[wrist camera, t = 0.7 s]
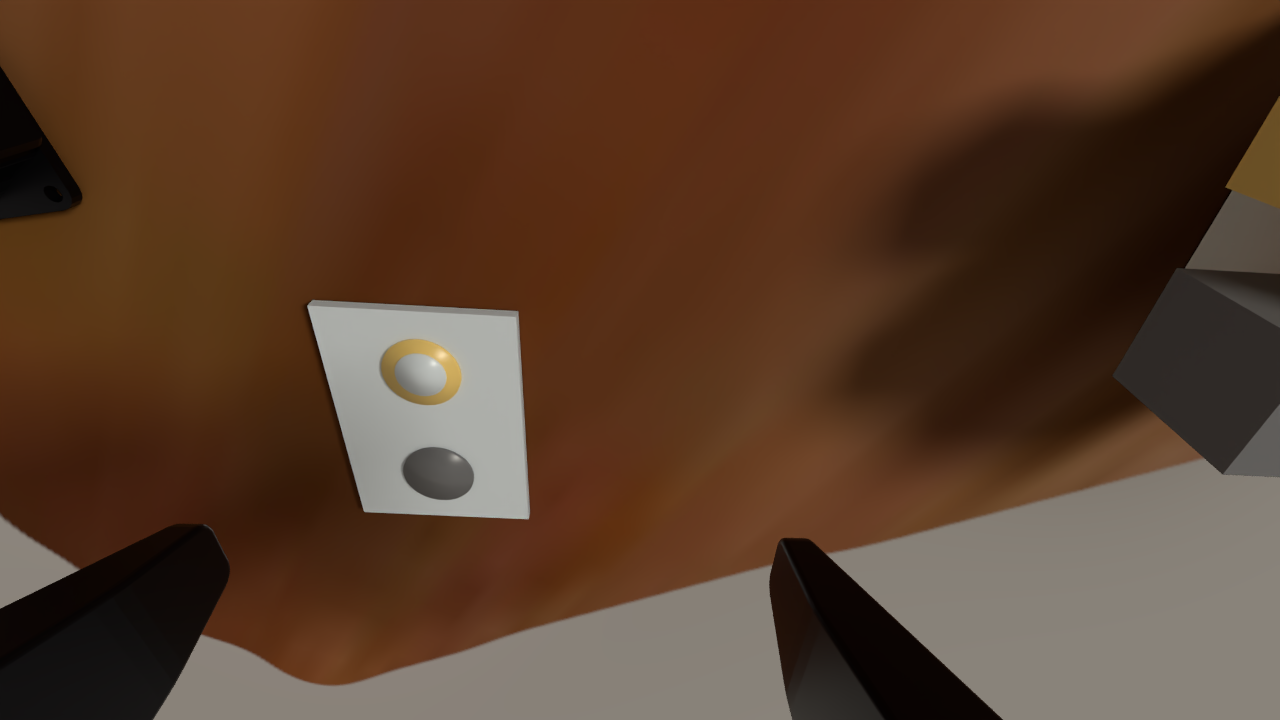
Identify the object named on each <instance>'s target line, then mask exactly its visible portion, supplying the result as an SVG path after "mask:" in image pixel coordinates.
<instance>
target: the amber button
mask: <svg viewBox="0 0 1280 720" xmlns="http://www.w3.org/2000/svg"><path fill="white" fill-rule="evenodd" d="M1226 188H1228V189H1231V190H1233V191H1236V192H1238V193H1241V194H1243V195H1246V196H1248V197H1251V198H1254V199H1256V200H1259V201H1261V202H1264V203H1266V204H1269V205H1271V206H1274V207H1276V208H1279V209H1280V96H1279V98H1278V100H1277V101H1276V103H1275V105H1274V106H1273V108H1272V110H1271V111H1270V113H1269V115H1268V116H1267V118H1266V120H1265V121H1264V123H1263V125H1262V126H1261V128H1260V130H1259V131H1258V133H1257V135H1256V136H1255V138H1254V140H1253V141H1252V143H1251V145H1250V146H1249V148H1248V150H1247V151H1246V153H1245V155H1244V156H1243V158H1242V160H1241V161H1240V163H1239V165H1238V166H1237V168H1236V170H1235V171H1234V173H1233V175H1232V177H1231V178H1230V180H1229V182H1228V183H1227V185H1226Z"/></svg>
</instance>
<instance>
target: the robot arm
mask: <svg viewBox="0 0 1280 720" xmlns="http://www.w3.org/2000/svg"><path fill="white" fill-rule="evenodd" d="M55 188H57V189H58V190H59V191H60V192H61V194H62V196H61V195H59V193H58V192H57V191H56V190H55ZM81 200H82V193H81V191H80V189H79V187H78V185H77V184H76V182H75V181H74V179H73V178H72V176H71V175H70V173H69V171H68V170H67V168H66V167H65V165H64V164H63V162H62V161H61V159H60V158H59V156H58V155H57V153H56V151H55V150H54V148H53V147H52V145H51V144H50V142H49V141H48V139H47V138H46V136H45V135H44V133H43V131H42V130H41V128H40V127H39V125H38V124H37V122H36V121H35V119H34V118H33V116H32V115H31V113H30V111H29V110H28V108H27V107H26V105H25V104H24V102H23V101H22V99H21V98H20V96H19V95H18V93H17V91H16V90H15V88H14V87H13V85H12V84H11V82H10V81H9V79H8V78H7V76H6V75H5V73H4V71H3V70H2V68H1V67H0V219H4V218H11V217H18V216H26V215H33V214H40V213H47V212H55V211H62V210H66V209H68V208H71V207H73V206H75V205H78V204H79V203H80V202H81ZM229 573H230V566H229V561H228V559H227V557H226V555H225V553H224V551H223V549H222V547H221V545H220V544H219V542H218V540H217V538H216V536H215V534H214V532H213V530H212V529H211V528H210V527H209V526H207V525H203V524H175V525H172V526H169V527H167V528H165V529H163V530H161V531H159V532H157V533H155V534H153V535H151V536H149V537H147V538H144V539H142V540H140V541H138V542H136V543H134V544H132V545H130V546H128V547H126V548H124V549H122V550H120V551H118V552H116V553H114V554H112V555H110V556H108V557H105V558H103V559H101V560H99V561H97V562H95V563H93V564H91V565H89V566H87V567H85V568H83V569H81V570H79V571H77V572H75V573H73V574H71V575H69V576H66V577H64V578H62V579H60V580H58V581H56V582H54V583H52V584H50V585H48V586H46V587H44V588H42V589H40V590H38V591H36V592H34V593H32V594H30V595H27V596H25V597H23V598H22V599H19V600H17V601H15V602H13V603H11V604H9V605H7V606H5V607H3V608H1V609H0V720H153V719H154V717H155V716H156V714H157V712H158V711H159V709H160V708H161V706H162V705H163V703H164V701H165V700H166V698H167V696H168V695H169V693H170V692H171V690H172V688H173V687H174V685H175V683H176V681H177V679H178V678H179V676H180V674H181V672H182V670H183V669H184V667H185V665H186V663H187V661H188V659H189V657H190V655H191V653H192V651H193V649H194V647H195V645H196V643H197V641H198V639H199V637H200V635H201V633H202V632H203V630H204V628H205V626H206V624H207V622H208V620H209V618H210V616H211V614H212V612H213V610H214V608H215V606H216V604H217V602H218V600H219V598H220V596H221V594H222V592H223V590H224V588H225V587H226V584H227V582H228V578H229ZM769 583H770V584H769V586H770V587H769V588H770V597H771V604H772V610H773V617H774V623H775V629H776V636H777V642H778V648H779V655H780V661H781V668H782V674H783V680H784V685H785V691H786V696H787V700H788V704H789V708H790V712H791V716H792V720H1003V719H1002V718H1001V717H1000V716H998V715H997V714H996V713H995V712H994V711H993V710H992V709H991V708H990V707H989V706H988V705H987V704H986V703H985V702H984V701H982V700H981V699H980V698H979V697H978V696H977V695H976V694H975V693H974V692H973V691H972V690H971V689H970V688H969V687H967V686H966V685H965V684H964V683H963V682H962V681H961V680H960V679H959V678H958V677H957V676H956V675H955V674H954V673H952V672H951V671H950V670H949V669H948V668H947V667H946V666H945V665H944V664H943V663H942V662H941V661H940V660H939V659H937V658H936V657H935V656H934V655H933V654H932V653H931V652H930V651H929V650H928V649H927V648H926V647H925V646H924V645H922V644H921V643H920V642H919V641H918V640H917V639H916V638H915V637H914V636H913V635H912V634H911V633H910V632H909V631H908V630H906V629H905V628H904V627H903V626H902V625H901V624H900V623H899V622H898V621H897V620H896V619H895V618H894V617H893V616H892V615H890V614H889V613H888V612H887V611H886V610H885V609H884V608H883V607H882V606H881V605H880V604H878V602H877V601H875V600H874V599H873V598H872V597H871V596H870V595H869V594H868V593H867V592H866V591H865V590H864V589H863V588H862V587H860V586H859V585H858V584H857V583H856V582H855V581H854V580H853V579H852V578H851V577H850V576H849V575H847V573H846V572H844V571H843V570H842V569H841V568H840V567H839V566H838V565H837V564H836V563H835V562H834V561H833V560H832V559H830V558H829V557H828V556H827V555H826V554H825V553H824V552H823V551H822V550H821V549H820V548H819V547H818V546H817V545H816V544H815V543H813V542H812V541H811V540H809V539H806V538H783V539H781V540H780V541H779V543H778V546H777V550H776V554H775V558H774V562H773V565H772V569H771V573H770V581H769Z"/></svg>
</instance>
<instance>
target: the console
mask: <svg viewBox="0 0 1280 720" xmlns="http://www.w3.org/2000/svg"><path fill="white" fill-rule="evenodd" d="M1185 268H1186V269H1203V270H1220V271H1238V272H1255V273H1272V274H1280V209H1279V208H1276V207H1274V206H1271V205H1269V204H1266V203H1264V202H1261V201H1259V200H1256V199H1254V198H1251V197H1248V196H1246V195H1243V194H1241V193H1238V192H1236V191H1233V190H1232V191H1231V193H1230V195H1229V196H1228V198H1227V200H1226V201H1225V203H1224V205H1223V206H1222V208H1221V210H1220V211H1219V213H1218V215H1217V216H1216V218H1215V220H1214V221H1213V223H1212V224H1211V226H1210V228H1209V229H1208V231H1207V233H1206V234H1205V236H1204V238H1203V239H1202V241H1201V243H1200V244H1199V246H1198V248H1197V249H1196V251H1195V253H1194V254H1193V256H1192V257H1191V259H1190V261H1189V262H1188V264H1187V266H1186V267H1185Z"/></svg>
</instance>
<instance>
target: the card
mask: <svg viewBox="0 0 1280 720" xmlns="http://www.w3.org/2000/svg"><path fill="white" fill-rule="evenodd" d="M307 307H308V310H309V314H310V318H311V321H312V325H313V328H314V332H315V336H316V339H317V343H318V347H319V350H320V354H321V357H322V361H323V365H324V368H325V372H326V376H327V379H328V383H329V386H330V390H331V394H332V397H333V401H334V405H335V408H336V412H337V415H338V419H339V423H340V426H341V430H342V434H343V437H344V441H345V444H346V448H347V452H348V455H349V459H350V463H351V466H352V470H353V473H354V477H355V481H356V484H357V488H358V492H359V495H360V499H361V502H362V506H363V510H364V512H377V513H400V514H423V515H446V516H468V517H491V518H514V519H529V514H530V504H529V487H528V470H527V453H526V436H525V419H524V402H523V385H522V368H521V351H520V334H519V317H518V311H506V310H487V309H469V308H450V307H432V306H413V305H395V304H376V303H357V302H339V301H320V300H312V301H311V302H310V303H309V304H308V305H307Z"/></svg>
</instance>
